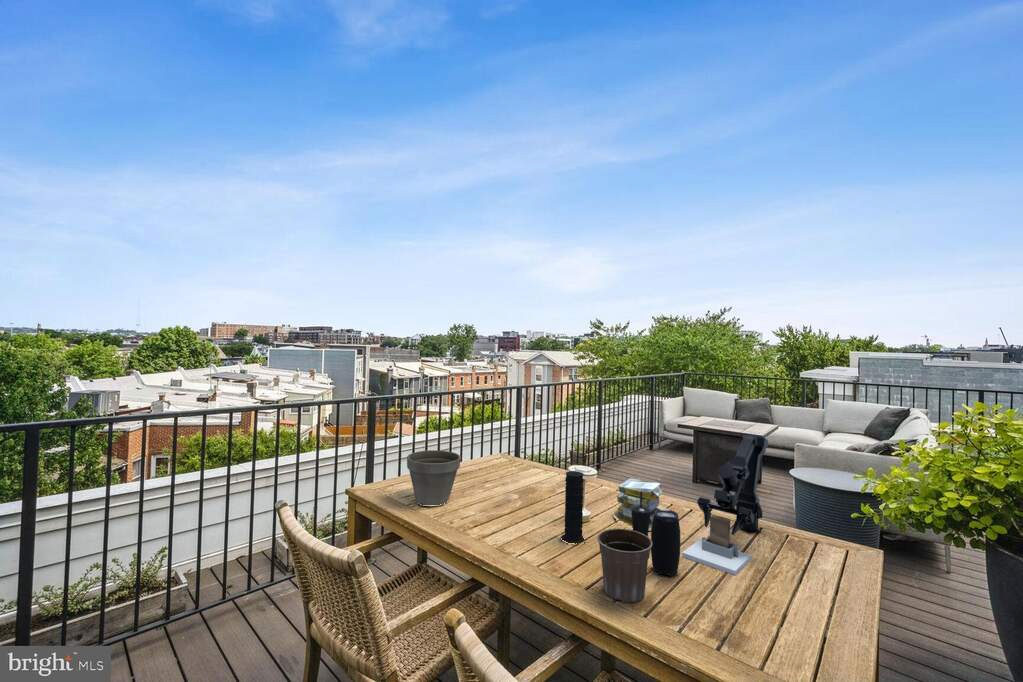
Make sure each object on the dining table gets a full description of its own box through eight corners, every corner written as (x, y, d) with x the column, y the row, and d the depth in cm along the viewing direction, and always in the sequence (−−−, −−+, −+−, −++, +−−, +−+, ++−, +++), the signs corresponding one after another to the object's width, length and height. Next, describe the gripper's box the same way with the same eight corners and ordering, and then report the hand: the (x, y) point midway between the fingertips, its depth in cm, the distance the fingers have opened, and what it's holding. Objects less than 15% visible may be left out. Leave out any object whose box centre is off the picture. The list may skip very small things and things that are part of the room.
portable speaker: (645, 567, 154) (646, 509, 154) (667, 563, 157) (668, 506, 157) (662, 580, 146) (663, 519, 146) (685, 575, 149) (686, 515, 149)
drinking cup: (651, 550, 167) (652, 495, 167) (630, 548, 169) (631, 494, 169) (649, 541, 175) (650, 489, 175) (629, 539, 176) (630, 487, 176)
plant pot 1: (470, 500, 217) (471, 454, 217) (435, 516, 196) (436, 465, 196) (431, 490, 230) (432, 447, 230) (394, 504, 209) (395, 457, 209)
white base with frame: (700, 543, 174) (700, 531, 174) (750, 559, 161) (751, 546, 161) (682, 556, 162) (682, 544, 162) (735, 575, 150) (735, 561, 150)
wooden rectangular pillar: (712, 547, 167) (713, 514, 167) (729, 552, 163) (730, 519, 163) (708, 550, 164) (709, 517, 164) (725, 556, 160) (726, 522, 160)
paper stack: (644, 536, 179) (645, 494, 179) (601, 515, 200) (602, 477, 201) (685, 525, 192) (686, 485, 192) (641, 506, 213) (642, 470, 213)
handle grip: (582, 547, 168) (589, 537, 177) (583, 476, 168) (590, 469, 178) (556, 542, 173) (565, 532, 182) (558, 472, 173) (566, 466, 182)
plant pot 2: (620, 613, 127) (621, 555, 128) (585, 585, 142) (586, 533, 142) (663, 599, 135) (664, 544, 135) (626, 574, 149) (626, 525, 149)
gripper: (699, 475, 174) (686, 511, 166) (752, 487, 161) (741, 526, 153) (707, 491, 179) (695, 527, 171) (758, 503, 166) (748, 543, 158)
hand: (718, 530), depth 163 cm, fingers open, 9 cm apart
